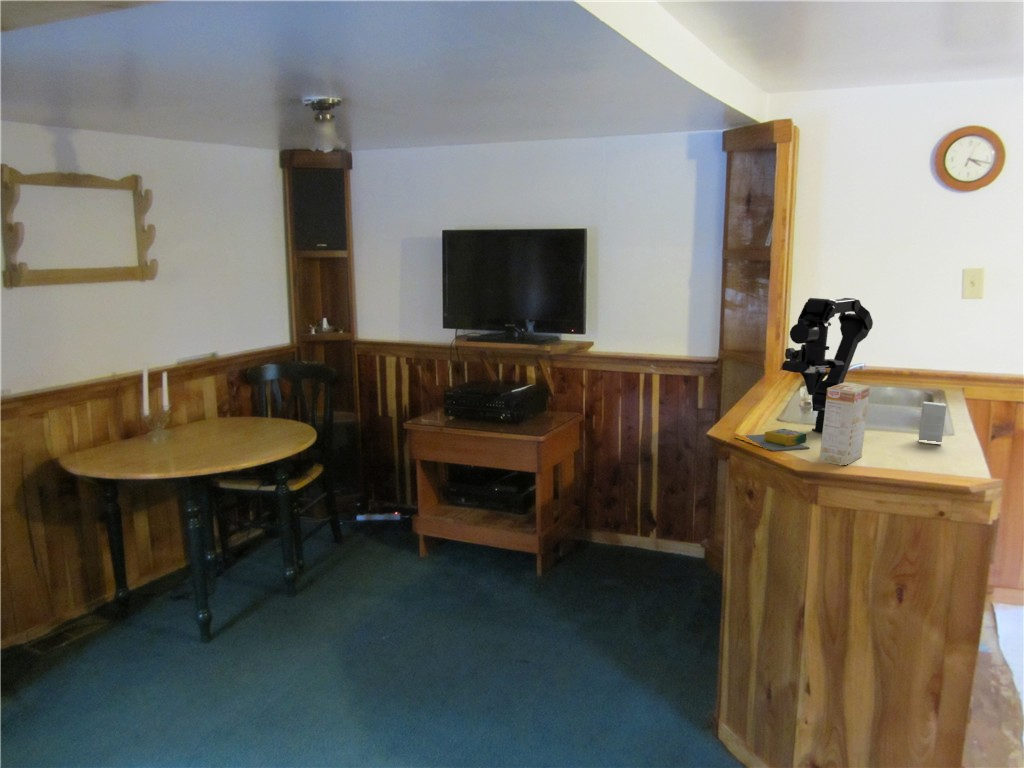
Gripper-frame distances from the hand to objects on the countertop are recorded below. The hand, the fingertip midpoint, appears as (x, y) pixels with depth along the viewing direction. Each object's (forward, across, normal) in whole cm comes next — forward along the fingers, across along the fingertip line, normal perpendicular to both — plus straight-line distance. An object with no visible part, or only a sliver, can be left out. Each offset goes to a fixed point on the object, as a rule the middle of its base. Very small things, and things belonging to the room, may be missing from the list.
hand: (810, 394), depth 226 cm
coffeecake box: (+13, +10, +23) cm, 28 cm away
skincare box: (+14, -34, +14) cm, 39 cm away
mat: (+12, +17, +4) cm, 21 cm away
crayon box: (+11, +8, +4) cm, 14 cm away
